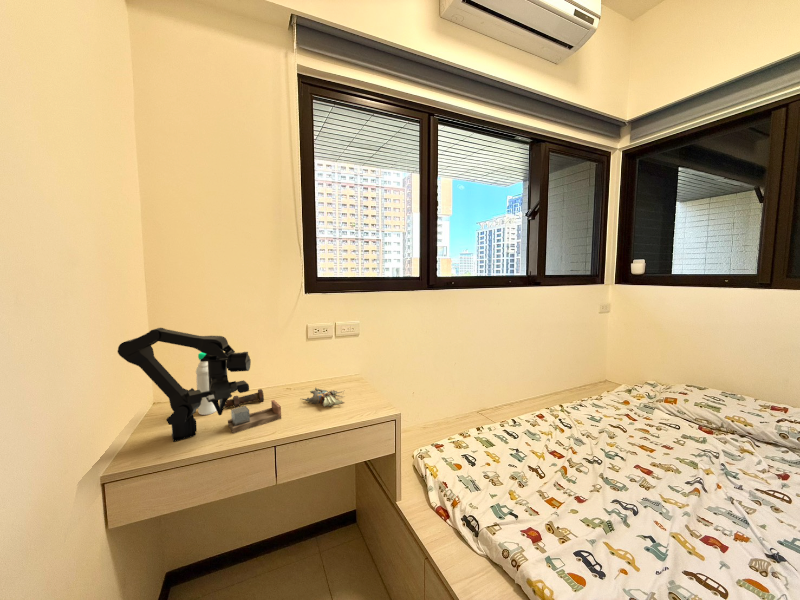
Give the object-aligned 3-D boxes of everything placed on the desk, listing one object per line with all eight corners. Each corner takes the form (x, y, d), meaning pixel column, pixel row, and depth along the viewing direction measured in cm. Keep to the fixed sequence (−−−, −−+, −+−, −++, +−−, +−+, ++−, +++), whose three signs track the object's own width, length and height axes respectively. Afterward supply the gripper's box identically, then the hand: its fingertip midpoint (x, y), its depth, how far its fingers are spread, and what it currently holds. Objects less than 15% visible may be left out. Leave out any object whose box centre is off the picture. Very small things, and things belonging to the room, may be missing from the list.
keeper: (235, 427, 110) (234, 414, 110) (231, 422, 114) (231, 409, 114) (249, 422, 114) (249, 410, 113) (246, 418, 117) (245, 405, 117)
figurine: (332, 381, 146) (356, 390, 135) (332, 394, 146) (356, 404, 136) (295, 391, 131) (319, 402, 120) (294, 405, 131) (318, 417, 120)
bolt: (224, 412, 130) (263, 402, 138) (225, 410, 126) (264, 400, 134) (223, 398, 131) (261, 390, 140) (223, 396, 128) (262, 387, 136)
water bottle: (209, 416, 122) (205, 355, 120) (194, 414, 123) (190, 354, 121) (222, 408, 129) (219, 350, 127) (208, 407, 130) (204, 349, 128)
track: (233, 433, 109) (232, 420, 108) (228, 425, 115) (227, 412, 114) (281, 418, 120) (280, 406, 119) (274, 411, 126) (273, 399, 125)
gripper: (189, 384, 96) (191, 432, 97) (252, 372, 108) (254, 414, 109) (184, 375, 104) (187, 419, 105) (244, 365, 116) (245, 404, 118)
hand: (219, 414), depth 109 cm, fingers closed
